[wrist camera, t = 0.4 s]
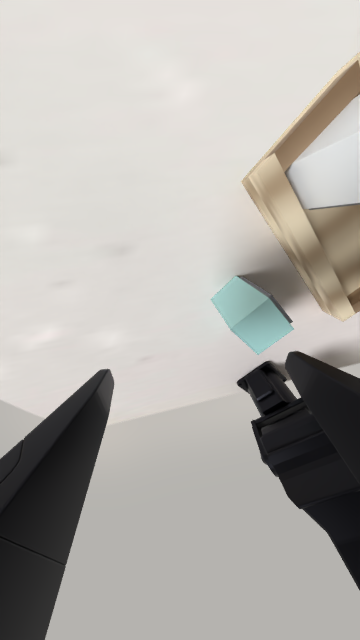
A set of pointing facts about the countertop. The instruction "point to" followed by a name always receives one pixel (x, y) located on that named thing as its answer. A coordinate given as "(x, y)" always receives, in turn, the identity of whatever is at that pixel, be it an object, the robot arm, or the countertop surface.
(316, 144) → the grey rectangular block
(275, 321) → the teal block
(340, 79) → the wooden tray
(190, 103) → the countertop surface
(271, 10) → the countertop surface
